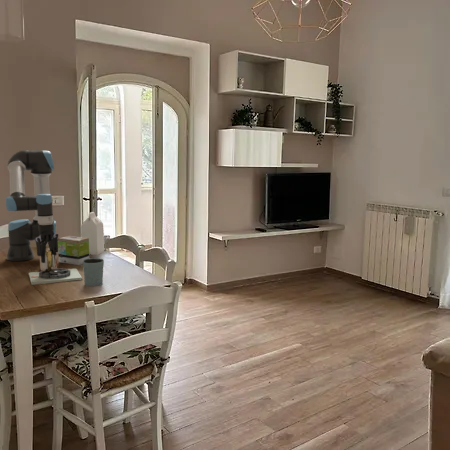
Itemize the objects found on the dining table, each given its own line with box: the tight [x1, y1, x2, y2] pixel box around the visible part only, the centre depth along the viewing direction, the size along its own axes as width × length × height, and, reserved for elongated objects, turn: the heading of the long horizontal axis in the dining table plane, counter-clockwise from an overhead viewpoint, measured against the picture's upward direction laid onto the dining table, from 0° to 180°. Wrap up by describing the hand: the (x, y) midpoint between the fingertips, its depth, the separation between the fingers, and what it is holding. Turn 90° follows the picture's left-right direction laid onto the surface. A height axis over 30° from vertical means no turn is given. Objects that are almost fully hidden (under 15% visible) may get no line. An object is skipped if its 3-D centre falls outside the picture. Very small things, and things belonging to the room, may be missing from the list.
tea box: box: [57, 235, 90, 266], centre depth 275 cm, size 15×10×15 cm, turn 68°
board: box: [28, 268, 83, 285], centre depth 244 cm, size 20×24×1 cm
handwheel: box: [38, 251, 71, 278], centre depth 243 cm, size 16×15×11 cm
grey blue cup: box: [82, 257, 105, 287], centre depth 232 cm, size 10×10×12 cm
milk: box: [80, 211, 106, 256], centre depth 301 cm, size 12×12×26 cm
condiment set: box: [39, 247, 58, 271], centre depth 260 cm, size 12×9×12 cm
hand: (48, 267), depth 248 cm, fingers open, 4 cm apart
